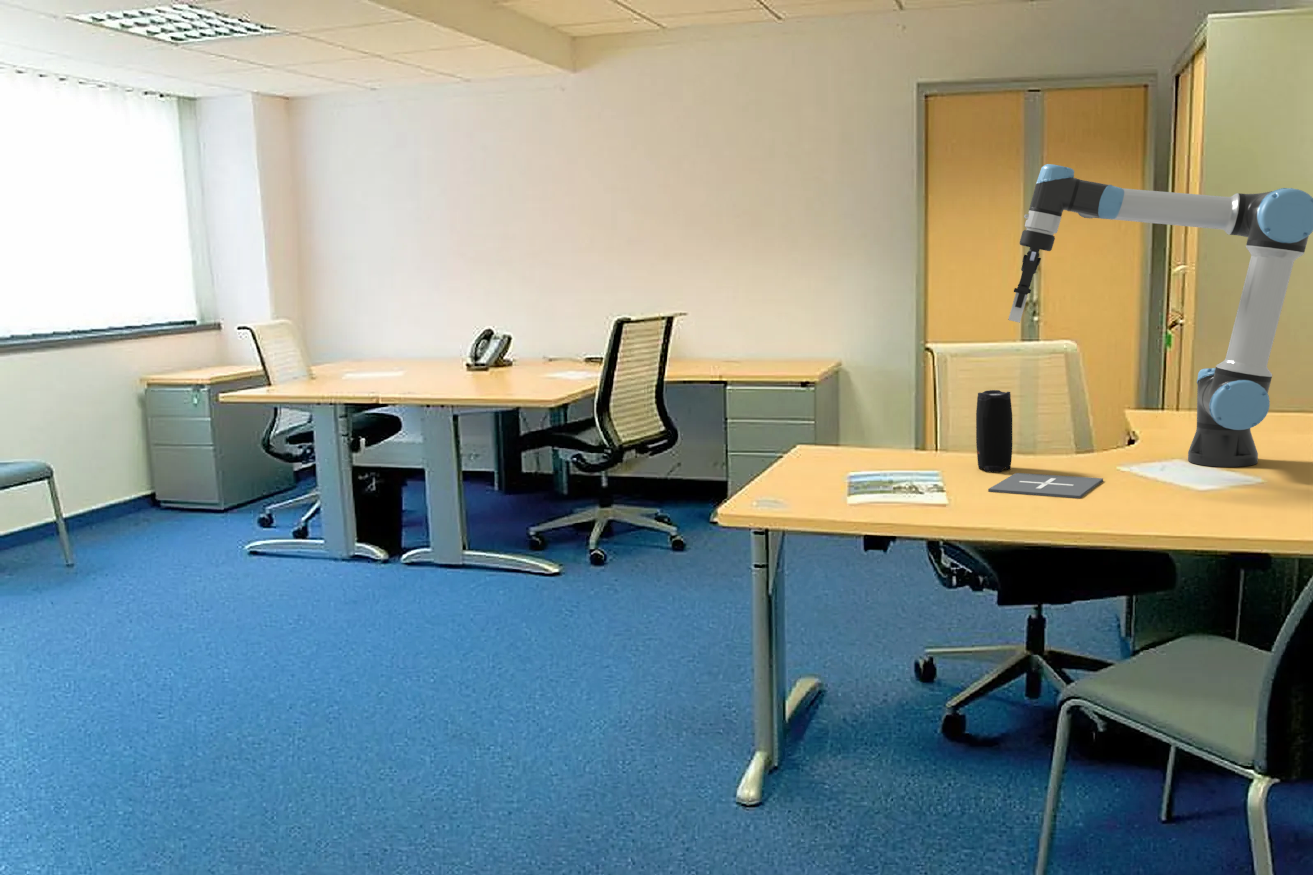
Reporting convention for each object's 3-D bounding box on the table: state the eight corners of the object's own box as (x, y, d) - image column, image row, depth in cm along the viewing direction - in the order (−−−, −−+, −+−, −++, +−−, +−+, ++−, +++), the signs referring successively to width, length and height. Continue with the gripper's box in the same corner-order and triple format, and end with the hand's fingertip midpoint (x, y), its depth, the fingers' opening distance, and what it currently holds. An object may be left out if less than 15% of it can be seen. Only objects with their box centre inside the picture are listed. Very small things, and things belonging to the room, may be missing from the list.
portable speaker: (978, 473, 267) (977, 394, 264) (975, 466, 277) (974, 390, 274) (1014, 472, 266) (1014, 393, 263) (1010, 465, 275) (1009, 388, 272)
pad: (1103, 480, 251) (1103, 478, 251) (1079, 498, 235) (1079, 495, 235) (1016, 475, 263) (1016, 472, 263) (988, 491, 247) (988, 488, 247)
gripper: (1023, 229, 269) (999, 313, 274) (1023, 227, 246) (997, 318, 251) (1054, 236, 267) (1030, 320, 272) (1057, 234, 244) (1030, 326, 249)
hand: (1014, 319), depth 261 cm, fingers open, 13 cm apart
